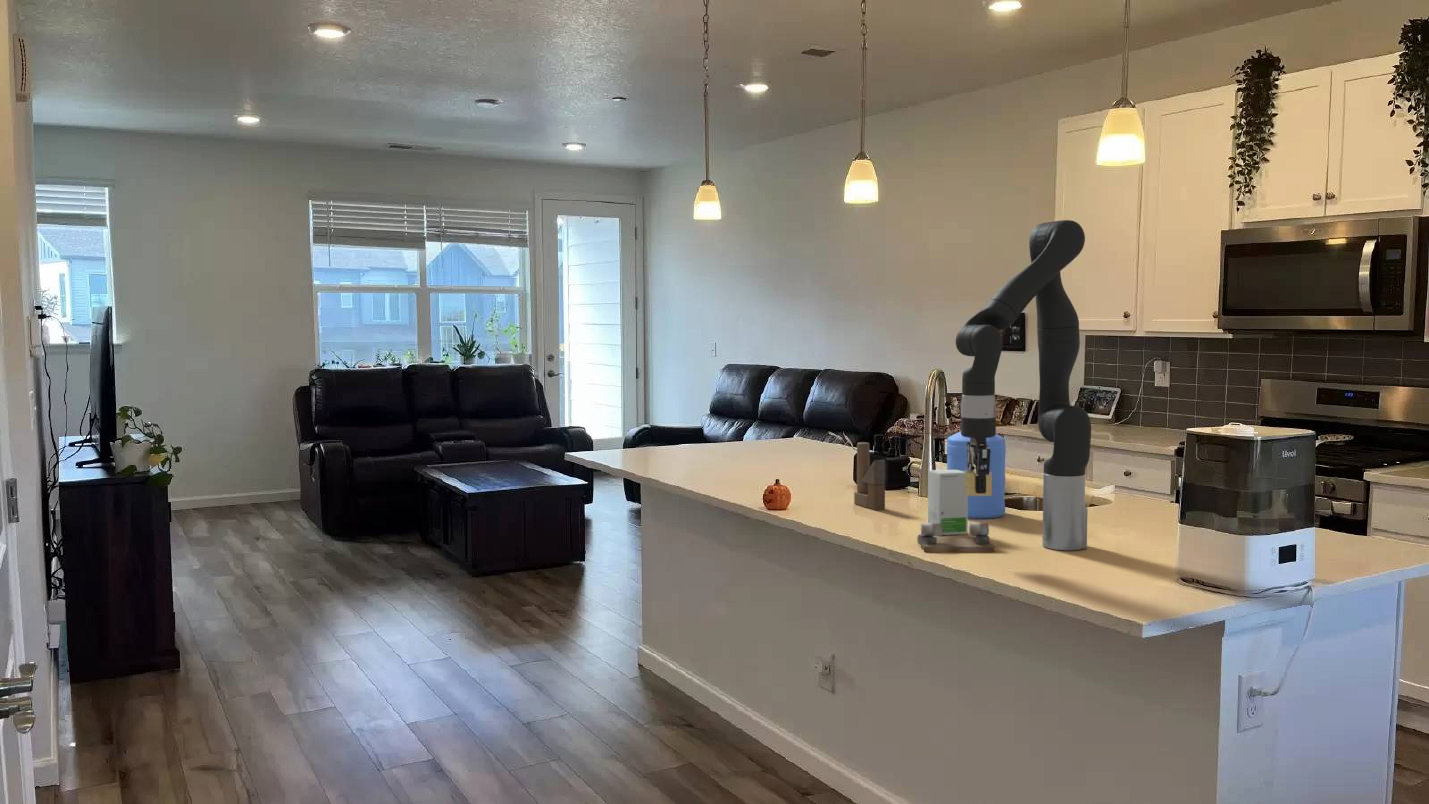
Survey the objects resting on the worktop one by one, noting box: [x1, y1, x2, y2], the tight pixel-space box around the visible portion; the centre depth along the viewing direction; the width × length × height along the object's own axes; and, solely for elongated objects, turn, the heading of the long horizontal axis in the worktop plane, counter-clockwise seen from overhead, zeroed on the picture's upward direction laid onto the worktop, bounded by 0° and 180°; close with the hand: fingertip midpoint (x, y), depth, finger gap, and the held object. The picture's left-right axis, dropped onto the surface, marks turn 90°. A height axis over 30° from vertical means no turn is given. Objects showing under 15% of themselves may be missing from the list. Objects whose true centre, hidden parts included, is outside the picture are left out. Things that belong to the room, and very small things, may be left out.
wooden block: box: [853, 441, 886, 511], centre depth 293 cm, size 4×11×18 cm, turn 24°
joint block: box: [964, 469, 992, 496], centre depth 229 cm, size 5×5×5 cm
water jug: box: [946, 430, 1007, 520], centre depth 280 cm, size 16×16×28 cm
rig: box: [916, 522, 996, 553], centre depth 242 cm, size 16×11×6 cm, turn 87°
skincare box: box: [927, 469, 969, 536], centre depth 258 cm, size 8×7×16 cm
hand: (978, 490), depth 230 cm, fingers closed on joint block, 5 cm apart
